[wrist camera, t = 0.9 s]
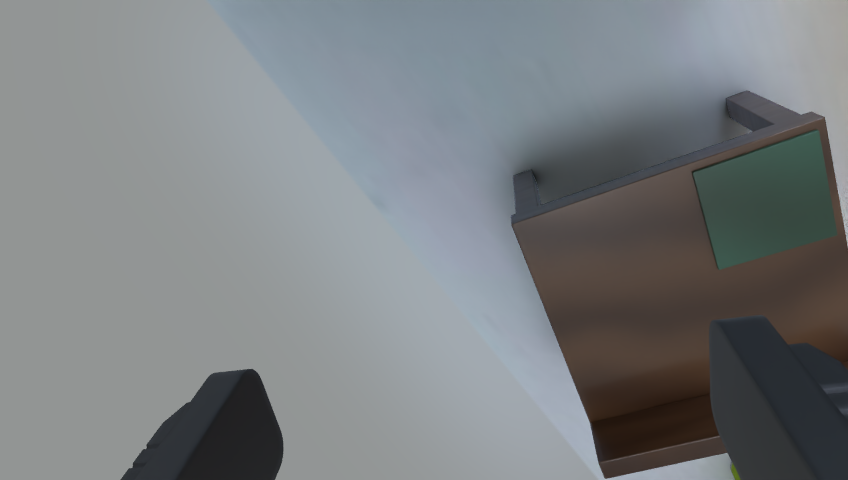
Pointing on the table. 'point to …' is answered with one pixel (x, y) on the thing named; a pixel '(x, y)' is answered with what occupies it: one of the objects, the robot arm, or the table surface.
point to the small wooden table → (687, 276)
